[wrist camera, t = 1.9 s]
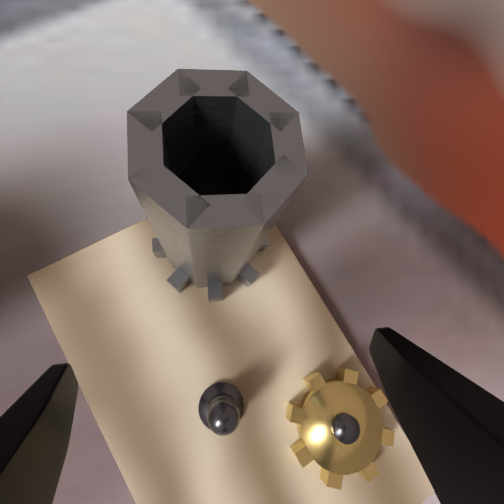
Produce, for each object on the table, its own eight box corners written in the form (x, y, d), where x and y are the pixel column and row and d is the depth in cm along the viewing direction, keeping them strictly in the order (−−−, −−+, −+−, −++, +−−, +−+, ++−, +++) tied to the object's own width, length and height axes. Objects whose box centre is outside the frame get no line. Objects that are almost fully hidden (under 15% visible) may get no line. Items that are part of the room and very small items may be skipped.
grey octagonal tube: (268, 296, 22) (351, 252, 10) (158, 306, 21) (89, 270, 8) (257, 197, 24) (315, 48, 11) (154, 201, 23) (93, 39, 10)
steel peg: (212, 440, 20) (214, 463, 16) (190, 398, 20) (187, 412, 16) (251, 413, 20) (261, 430, 17) (229, 373, 21) (234, 381, 17)
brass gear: (322, 504, 20) (333, 521, 18) (266, 404, 20) (271, 411, 19) (403, 437, 21) (420, 447, 19) (347, 347, 22) (359, 348, 20)
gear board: (222, 672, 17) (222, 684, 17) (31, 277, 21) (26, 275, 20) (431, 483, 21) (438, 487, 21) (242, 176, 25) (243, 172, 24)
